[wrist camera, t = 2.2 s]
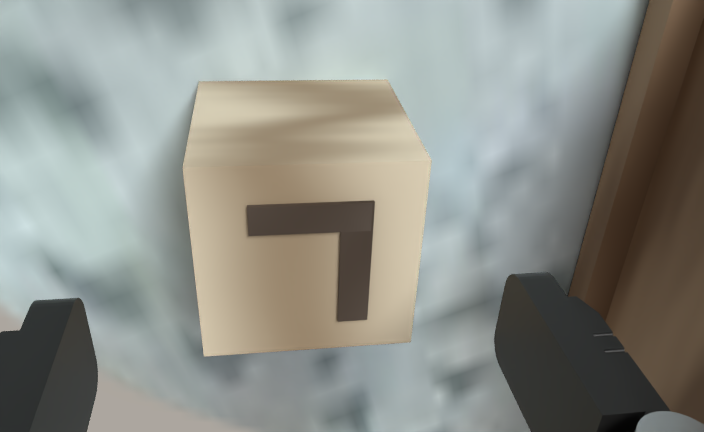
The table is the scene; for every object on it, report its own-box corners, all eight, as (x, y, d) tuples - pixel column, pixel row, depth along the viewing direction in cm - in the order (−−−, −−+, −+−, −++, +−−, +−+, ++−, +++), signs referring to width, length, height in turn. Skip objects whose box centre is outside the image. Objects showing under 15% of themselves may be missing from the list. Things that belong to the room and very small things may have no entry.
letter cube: (386, 78, 17) (432, 162, 13) (375, 232, 20) (411, 344, 16) (199, 80, 17) (182, 169, 12) (214, 239, 19) (203, 359, 15)
